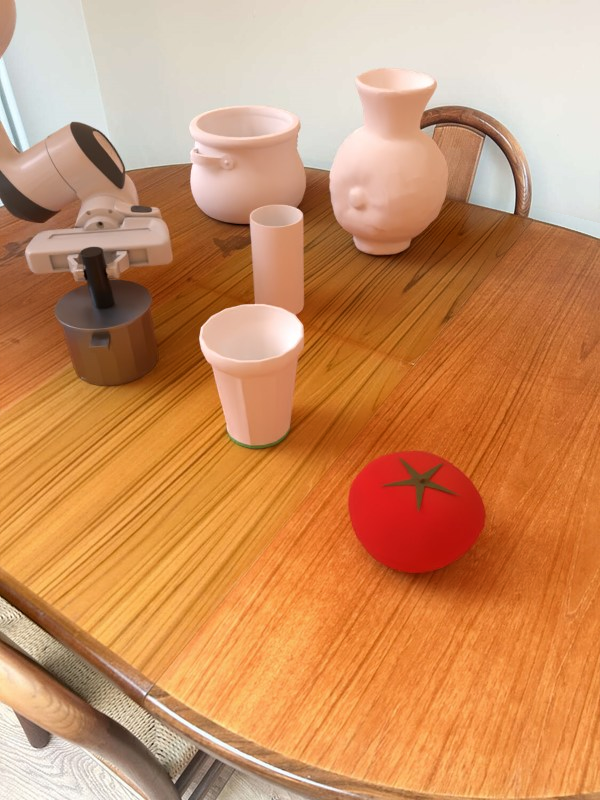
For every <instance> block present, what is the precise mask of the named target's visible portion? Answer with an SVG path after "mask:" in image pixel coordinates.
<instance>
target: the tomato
mask: <svg viewBox="0 0 600 800" xmlns="http://www.w3.org/2000/svg"><path fill="white" fill-rule="evenodd" d="M347 501H348V502H347V508H348V514H349V518H350V522H351V526H352V529H353V532H354V534H355V536H356V538H357V540H358V542H359V543H360V545H362V547H363V548H364V550H365V551H366V552H367V553H368V554H369V555H370V556H371V557H372V558H373V559H374V560H375V561H377V562H378V563H380V564H382V565H383V566H385V567H387V568H389V569H391V570H392V569H393V570H395V571H399V572H403V573H409V574H420V573H421V574H422V573H427V572H432V571H437V570H440V569H442V568H445V567H447V566H448V565H450V564H453V563H454V562H456V561H458V560H459V559H460V558H462V557H463V556H464V555H465V554H466V553H467V552H469V551H470V550H471V549H472V548H473V546H474V545H475V544H476V543H477V541H478V540H479V538H480V536H481V534H482V533H483V530H484V528H485V527H486V526H485V525H486V519H487V514H486V508H485V507H486V506H485V503H484V501H483V497H482V495H481V494H480V492H479V491H478V488H477V487H476V486H475V483H473V481H472V480H471V479H470V478H469V477H468V476H467V475H466V474H465V473H464V472H463V471H462V470H461V469H460V468H458V467H457V466H456V465H454V464H453V463H452V462H450V461H449V460H447V459H445V458H443V457H441V456H440V455H437V454H434V453H431V452H428V451H423V450H404V451H403V450H402V451H396V452H391V453H387V454H383V455H381V456H379V457H375V458H374V459H373V460H372V461H370V462H369V463H367V465H365V466H364V467H363V469H361V470H360V472H359V473H358V474H357V475H356V476H355V478H354V480H353V481H352V482H351V485H350V488H349V491H348V498H347Z"/></svg>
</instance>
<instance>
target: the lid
mask: <svg viewBox="0 0 600 800" xmlns="http://www.w3.org/2000/svg"><path fill="white" fill-rule="evenodd" d="M80 255H81V259H82V263H83V267H84V271H85V275H86V279H87V280H86V283H85V284H82V285H80V286H77V287H75V288H73V289H71V290H70V291H68V292H66V293H65V294H64V295H63V296H61V297H60V298H59V300H58V301H57V303H56V304H55V305H54V315H55V318H56V320H57V322H58V323H59V324H60V325H61V324H62V325H63V326H65V327H67V328H69V329H72V330H75V331H80V332H105V331H111V330H115V329H119V328H122V327H125V326H128V325H130V324H132V323H134V322H136V321H138V320H139V319H141V318H142V317H143V316H144V315H145V314H146V313H147V312H148V311H149V309H150V308H151V309H152V305H153V297H152V294H151V292H150V290H149V289H148V288H147V287H145V286H144V285H142V284H140V283H138V282H135V281H131V280H125V279H119V280H118V279H108V277H107V273H106V261H105V257H104V252H103V249H102V248H100V247H88V248H85V249H83V250H82V251H81V252H80Z"/></svg>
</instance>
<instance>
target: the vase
mask: <svg viewBox="0 0 600 800" xmlns="http://www.w3.org/2000/svg"><path fill="white" fill-rule="evenodd" d="M354 79H355V80H354V84H355V87H356V90H357V94H358V95H359V100H360V103H361V106H362V111H363V125H362V126H360V127H358V128H356V129H355V130H353V131H352V132H351V133H350V134H349V135H348V137H347V138H345V139H344V140H343V142H342V144H341V146H339V148H338V149H337V152H336V154H335V156H334V159H333V162H332V165H331V167H330V172H329V186H328V187H329V193H330V202H331V206H332V210H333V215H334V217H335V219H336V221H337V223H338V224H339V225H340V226H341V228H342V230H344V231H346V232H347V233H349V234H351V235H352V240H353V243H354V246H355V248H356V249H357V250H359V251H360V252H362V253H365V254H368V255H373V256H384V255H385V256H386V255H387V256H388V255H389V256H390V255H396V254H399V253H401V252H404V251H405V250H407V249H408V248H410V245H411V242H412V239H414V238H416V237H417V236H419V235H421V234H422V233H423V231H425V230H426V229H427V228H428V227H429V226H430V225H431V224H432V222H434V221H435V220H436V219H437V218H438V216H439V215H440V212H441V210H442V207H443V204H444V202H445V201H446V200H445V199H446V195H447V190H448V181H449V177H450V173H449V167H448V163H447V159H446V157H445V155H444V154H443V152H442V151H441V149H440V148H439V146H438V144H437V142H435V140H434V139H433V138H432V137H431V136H430V135H429V134H428V133H427V132H425V131H423V130H422V129H421V121H422V117H423V115H424V112H425V110H426V107H427V105H428V103H429V102H430V100H431V98H432V96H433V95H434V93H435V91H436V90H437V87H438V83H437V81H436V78H434V77H433V76H431V75H428V74H426V73H425V72H418V71H415V70H409V69H405V68H395V67H393V68H391V67H380V68H375V69H371V70H369V71H366V72H362V73H361V74H360V75H357V76H356V77H355V78H354Z"/></svg>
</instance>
